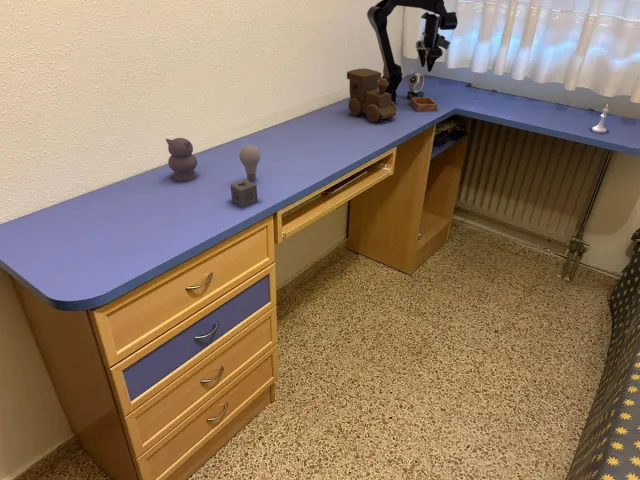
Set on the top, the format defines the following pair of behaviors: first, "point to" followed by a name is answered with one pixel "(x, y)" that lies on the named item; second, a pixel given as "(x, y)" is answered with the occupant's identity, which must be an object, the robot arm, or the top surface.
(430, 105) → the tray
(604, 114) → the chess piece
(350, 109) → the wooden toy train
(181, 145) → the cat figurine
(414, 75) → the watch
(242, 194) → the dark grey engraved cube
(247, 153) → the lightbulb
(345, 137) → the top surface
